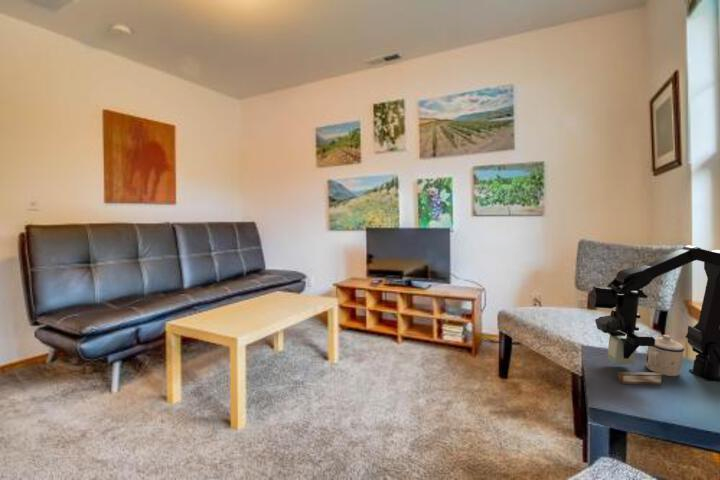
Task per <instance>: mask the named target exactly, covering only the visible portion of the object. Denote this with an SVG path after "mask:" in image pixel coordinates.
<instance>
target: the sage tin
mask: <svg viewBox="0 0 720 480" xmlns="http://www.w3.org/2000/svg"><path fill="white" fill-rule="evenodd" d="M626 337H627V335H625V336H610V335H609V338H608V346H607V347H608V349H607V357H606V359H607V360H608V361H610V362H612V363H613V364H614V365H635V360H636V352H637V349H636V350H635V351H634V352H633V353H632V355H631V356H630V357H629V358H628V359H625V358H624V343H623V342H622V341H621V339H620V338H622V339H626Z"/></svg>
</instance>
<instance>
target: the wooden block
mask: <svg viewBox="0 0 720 480" xmlns="http://www.w3.org/2000/svg"><path fill="white" fill-rule="evenodd" d="M662 381H663V375H662V374H660V373H656V372H653V371H651V372H647V371H646V372H644V371H641V372H639V371H619V372H618V376H617V382H618V383H619V384H621V385H622V384H623V385H627V384H628V385H662Z"/></svg>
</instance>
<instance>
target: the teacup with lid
mask: <svg viewBox="0 0 720 480" xmlns="http://www.w3.org/2000/svg"><path fill="white" fill-rule="evenodd" d="M653 338H654V339H655V346H647V351H646V359H645V367H646V368H647V369H648V370H649V371H651V372H656V373H660V374H662V376H668V377H677V376H680V375H681V369H682V364H683V363H682V361H683V354H684V352H685V347H684V346H683V344H681V343H680V342H677V341H676V340H674V339H672V337H671V336H670V335H669V334H663V335H662V336H659V337H653Z"/></svg>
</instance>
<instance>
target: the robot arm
mask: <svg viewBox="0 0 720 480" xmlns="http://www.w3.org/2000/svg"><path fill="white" fill-rule="evenodd" d="M695 261H698V262H702V263H703V269H704V271H705V275H706V277H707V278H706V279H707V280H706V286H705V291H704V294H703V298H702V299H703V300H702V304H701V308H700V313H699V318H698V321H697V323H696V324H695V325H694V326H692V325H688V326H687V334H686V335H685V338H686V339H687V343H688V345H690V347H691V350H692V351H693V352H695V353H696V354H695V358H694V360H693V367H692V368H691V369H688V371H689V372H690V373H692V374H694V375H696V376H698V377H699V378H701V379H703V380H704V381H708V382H709V381H710V382H720V250H719V249H714V250H708V249H707V250H706V249H702V248H700V247H698V246H693V245H685V246H683V247H682V248H680V249H678V250H675V251H673V252H671V253H668V254H666V255H664V256H662V257H660V258H657V259H655V260H653V261H650V262H649V263H646V264H642V265H638V266H631V267H627V268H625V269H621V270H619V271H618V272H617V273H616V275H615V278H614V279H612V281H610V283H609V284H608V285H606V287H603V286H597V285H596V286H592V289H591V290H590V292H589V294H588V302H589V306H590V307H591V308H597V309H598V308H599V309H612V310H611V311H610V315H603V316H599V317H598V318H595V320H594V321H595V324H596V328H597V330H598V331H600V332H602V333H604V334H608V335H609V337H610V336H627V337H626V339H622V338H620V339H621V341H622V342H623V343H624V358H625V359H628V358H629V357H630V356H631V355H632V353H633V352H634V351H635V350H636V351H637V349H638V348H639V347H648V346H655V339H654V338H655V337H653V336H652V335H650V334H648V333H645V332H640V331H639V330H640V327H639V326H637V320H638V319H641V316H642V315H641V314H639V313H638V312H639V311H638V310H639V309H638V308H639V303H640V298H642V299H648V295H647V294H646V293H645V292H644V291H643V290H642V289H644V288H645V287H647V286H648V285H650V284H651V283H652V281H654V280H655V279H656V278H658V277H660V276H662V275H665V274H667V273H669V272H671V271H674V270H676V269H678V268H681V267H683V266H685V265H688V264H690V263H693V262H695ZM636 331H637V332H636Z"/></svg>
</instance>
